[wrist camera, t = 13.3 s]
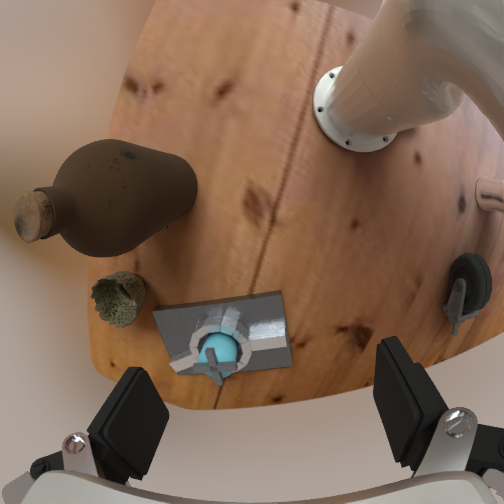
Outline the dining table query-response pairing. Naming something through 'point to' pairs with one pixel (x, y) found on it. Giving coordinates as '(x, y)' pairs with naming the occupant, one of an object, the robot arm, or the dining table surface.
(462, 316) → the caster wheel
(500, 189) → the beer glass
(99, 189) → the olive oil
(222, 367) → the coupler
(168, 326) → the coupling base
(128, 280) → the cup
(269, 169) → the dining table surface
